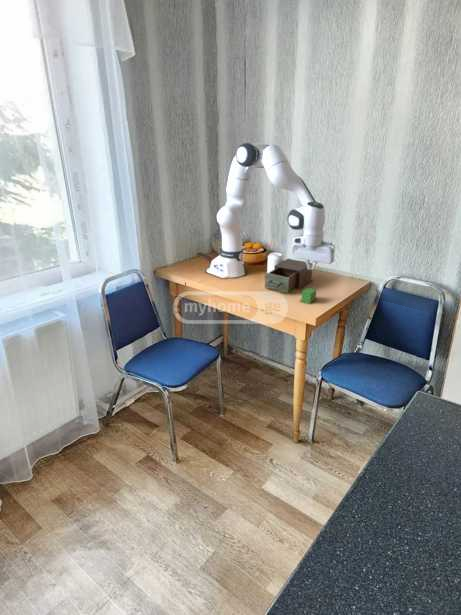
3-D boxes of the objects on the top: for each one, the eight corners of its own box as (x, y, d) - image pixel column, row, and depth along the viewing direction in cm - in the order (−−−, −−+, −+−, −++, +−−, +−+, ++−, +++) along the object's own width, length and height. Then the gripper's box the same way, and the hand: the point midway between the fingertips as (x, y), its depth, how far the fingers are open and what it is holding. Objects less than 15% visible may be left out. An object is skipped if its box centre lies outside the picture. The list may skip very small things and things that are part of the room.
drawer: (283, 296, 191) (283, 281, 188) (259, 290, 198) (259, 275, 195) (300, 284, 205) (301, 270, 201) (277, 279, 212) (278, 265, 209)
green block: (310, 303, 185) (310, 293, 183) (301, 301, 188) (302, 291, 186) (315, 299, 190) (316, 289, 188) (307, 297, 192) (307, 287, 190)
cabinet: (298, 288, 202) (299, 270, 198) (273, 282, 210) (274, 265, 206) (311, 280, 213) (312, 263, 209) (287, 275, 221) (288, 258, 217)
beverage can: (281, 278, 217) (282, 257, 212) (266, 277, 218) (267, 256, 213) (282, 273, 224) (283, 252, 219) (268, 272, 225) (268, 251, 220)
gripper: (338, 241, 173) (335, 271, 179) (296, 235, 184) (294, 263, 190) (332, 244, 169) (329, 275, 174) (289, 238, 180) (288, 267, 185)
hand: (311, 269), depth 182 cm, fingers closed
